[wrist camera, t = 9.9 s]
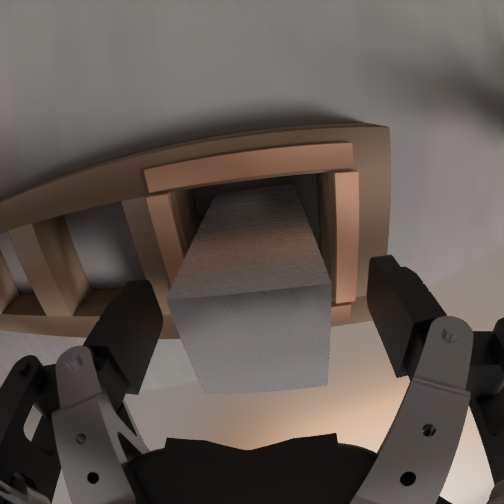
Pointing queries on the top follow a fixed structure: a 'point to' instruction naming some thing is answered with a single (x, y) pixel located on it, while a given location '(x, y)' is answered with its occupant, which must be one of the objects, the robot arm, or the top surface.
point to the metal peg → (254, 296)
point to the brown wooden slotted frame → (195, 218)
